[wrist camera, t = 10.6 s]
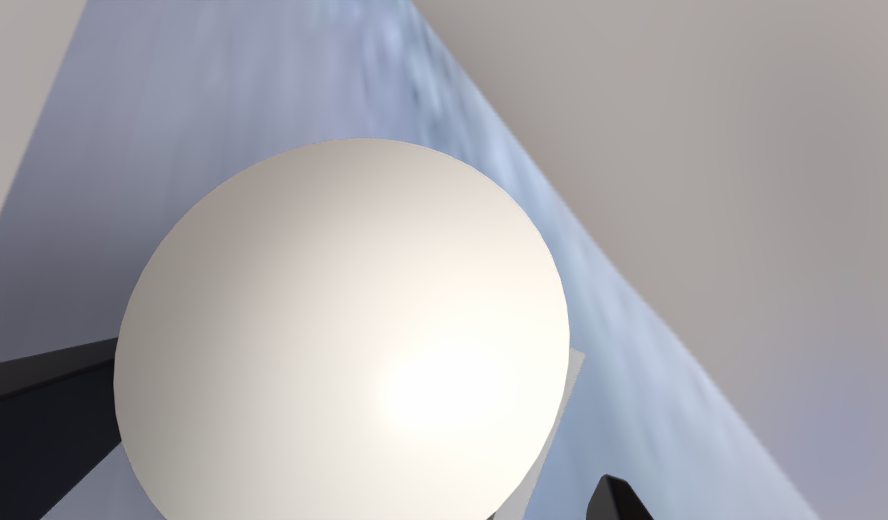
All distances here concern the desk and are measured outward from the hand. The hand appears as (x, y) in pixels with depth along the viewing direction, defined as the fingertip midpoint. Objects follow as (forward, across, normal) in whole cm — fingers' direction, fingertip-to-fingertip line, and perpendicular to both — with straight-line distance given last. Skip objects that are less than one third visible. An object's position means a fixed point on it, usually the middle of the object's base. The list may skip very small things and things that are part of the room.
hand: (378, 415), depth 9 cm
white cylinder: (+6, 0, +6) cm, 8 cm away
